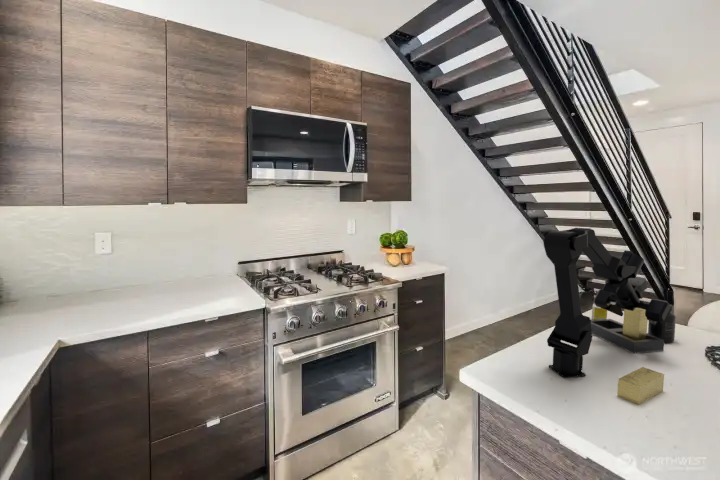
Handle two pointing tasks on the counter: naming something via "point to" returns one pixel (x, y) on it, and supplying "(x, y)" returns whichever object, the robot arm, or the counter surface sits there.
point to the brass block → (635, 324)
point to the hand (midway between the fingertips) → (638, 319)
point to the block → (640, 385)
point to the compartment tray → (614, 335)
